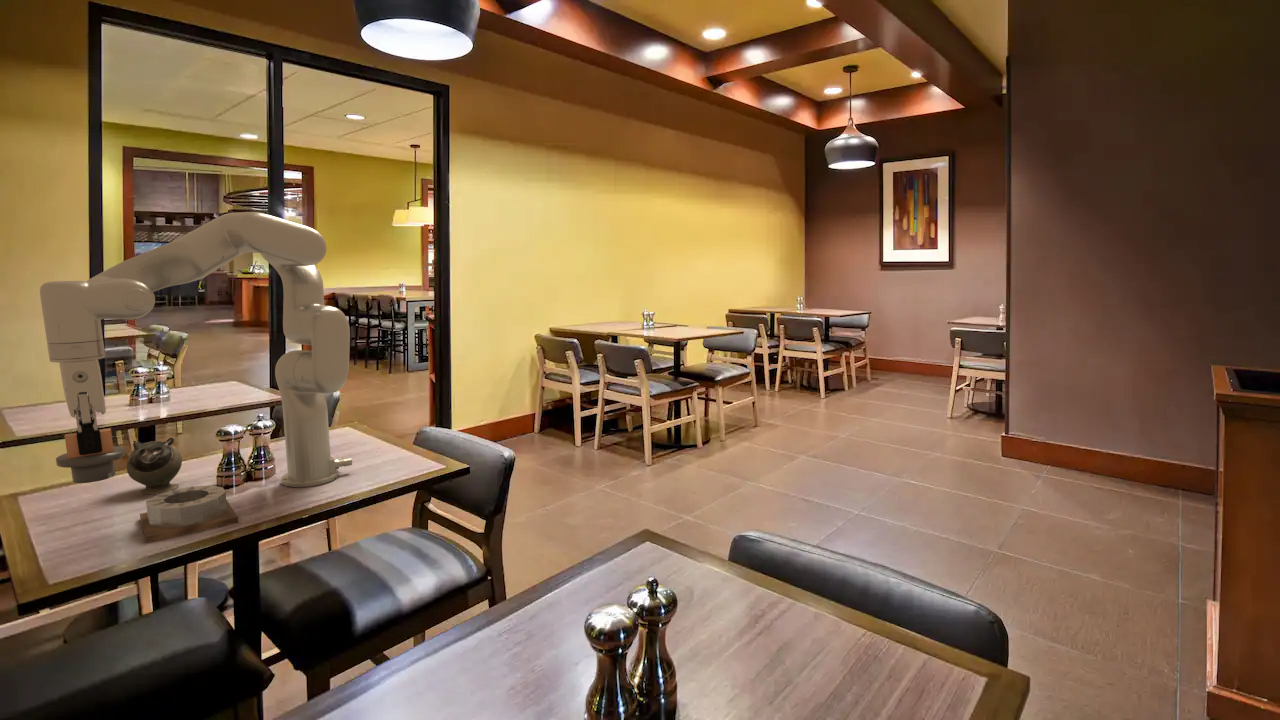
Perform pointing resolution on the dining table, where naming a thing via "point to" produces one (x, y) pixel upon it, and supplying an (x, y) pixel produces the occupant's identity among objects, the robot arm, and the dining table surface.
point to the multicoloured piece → (91, 459)
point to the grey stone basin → (186, 506)
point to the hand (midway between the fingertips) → (90, 451)
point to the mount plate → (160, 534)
